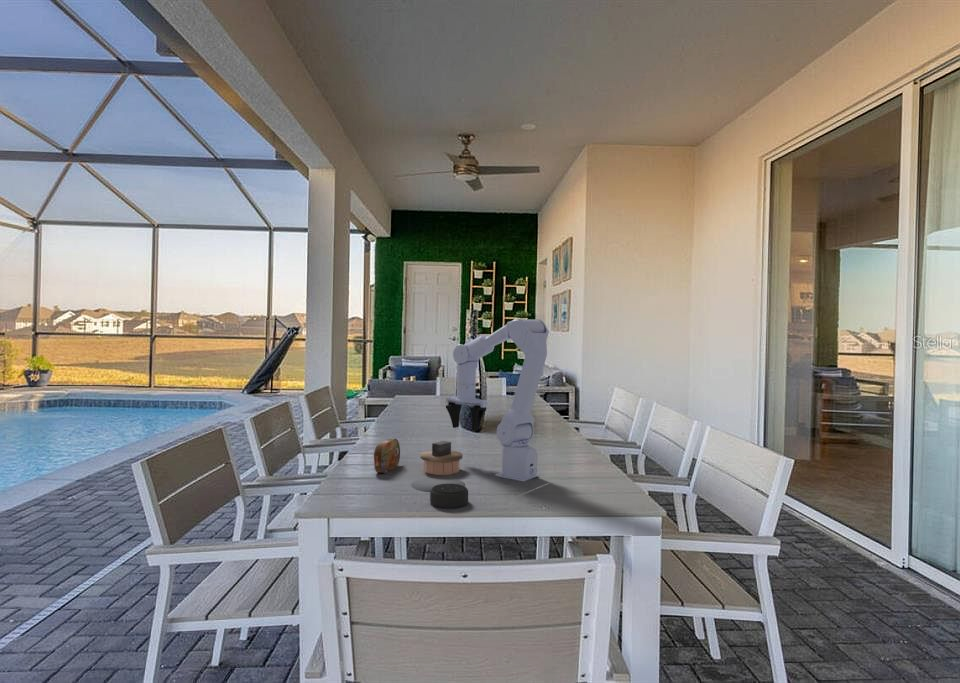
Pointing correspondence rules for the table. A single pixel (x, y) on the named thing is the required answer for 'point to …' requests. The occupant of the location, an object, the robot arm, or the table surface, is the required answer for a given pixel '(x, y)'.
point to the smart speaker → (449, 496)
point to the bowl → (441, 467)
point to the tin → (386, 455)
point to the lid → (441, 453)
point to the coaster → (433, 483)
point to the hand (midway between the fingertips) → (465, 428)
